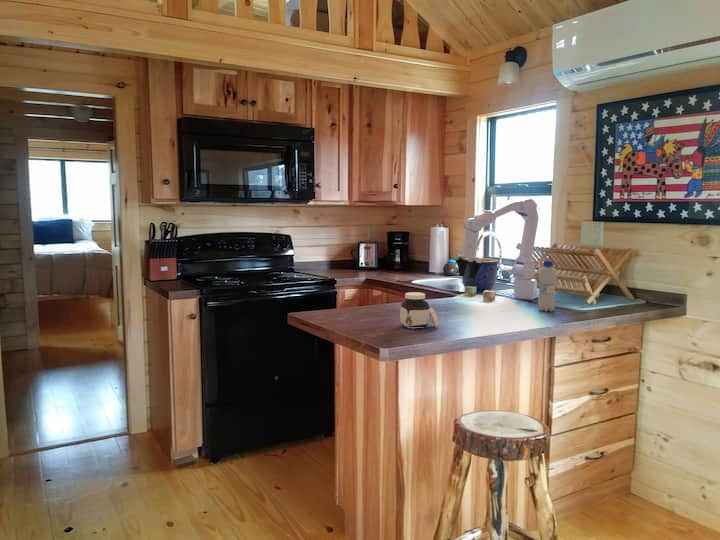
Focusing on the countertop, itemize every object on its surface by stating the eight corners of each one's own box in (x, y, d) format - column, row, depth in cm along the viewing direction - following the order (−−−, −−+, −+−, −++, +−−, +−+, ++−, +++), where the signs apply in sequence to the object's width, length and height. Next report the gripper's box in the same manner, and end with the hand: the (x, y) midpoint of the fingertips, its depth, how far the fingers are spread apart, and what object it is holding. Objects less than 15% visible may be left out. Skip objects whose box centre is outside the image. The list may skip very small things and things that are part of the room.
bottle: (546, 312, 225) (548, 261, 223) (533, 309, 231) (535, 260, 228) (558, 311, 228) (561, 260, 226) (546, 308, 234) (548, 259, 232)
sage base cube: (476, 295, 262) (476, 286, 261) (473, 296, 258) (473, 287, 258) (467, 294, 264) (467, 286, 263) (464, 296, 260) (464, 287, 260)
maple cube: (494, 300, 250) (495, 290, 250) (492, 301, 247) (492, 292, 246) (486, 299, 252) (486, 290, 252) (482, 300, 249) (483, 291, 248)
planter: (473, 287, 288) (474, 257, 287) (503, 291, 277) (505, 259, 275) (453, 291, 277) (454, 259, 275) (484, 295, 265) (485, 262, 263)
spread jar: (396, 325, 201) (397, 292, 200) (421, 322, 208) (421, 289, 206) (419, 332, 191) (420, 297, 190) (444, 328, 198) (445, 294, 197)
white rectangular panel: (506, 298, 258) (506, 296, 258) (495, 303, 244) (495, 302, 244) (463, 294, 268) (463, 293, 268) (450, 299, 254) (450, 298, 254)
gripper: (453, 243, 253) (449, 274, 254) (473, 247, 240) (469, 279, 242) (466, 244, 256) (462, 275, 258) (486, 248, 243) (482, 280, 245)
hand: (466, 277), depth 250 cm, fingers open, 7 cm apart
